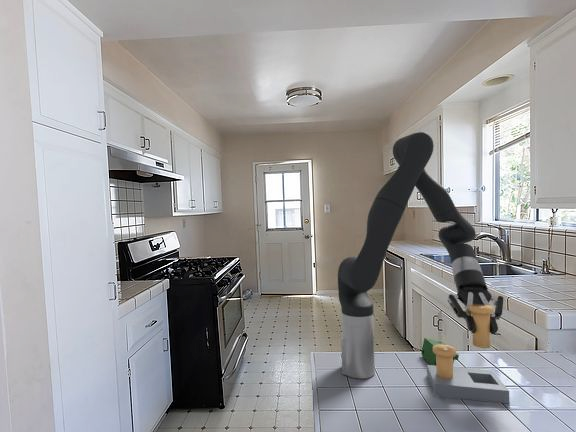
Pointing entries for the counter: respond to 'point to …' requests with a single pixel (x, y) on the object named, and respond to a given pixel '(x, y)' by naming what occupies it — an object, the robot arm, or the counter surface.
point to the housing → (463, 379)
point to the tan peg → (481, 324)
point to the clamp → (428, 351)
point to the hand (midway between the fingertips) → (484, 332)
